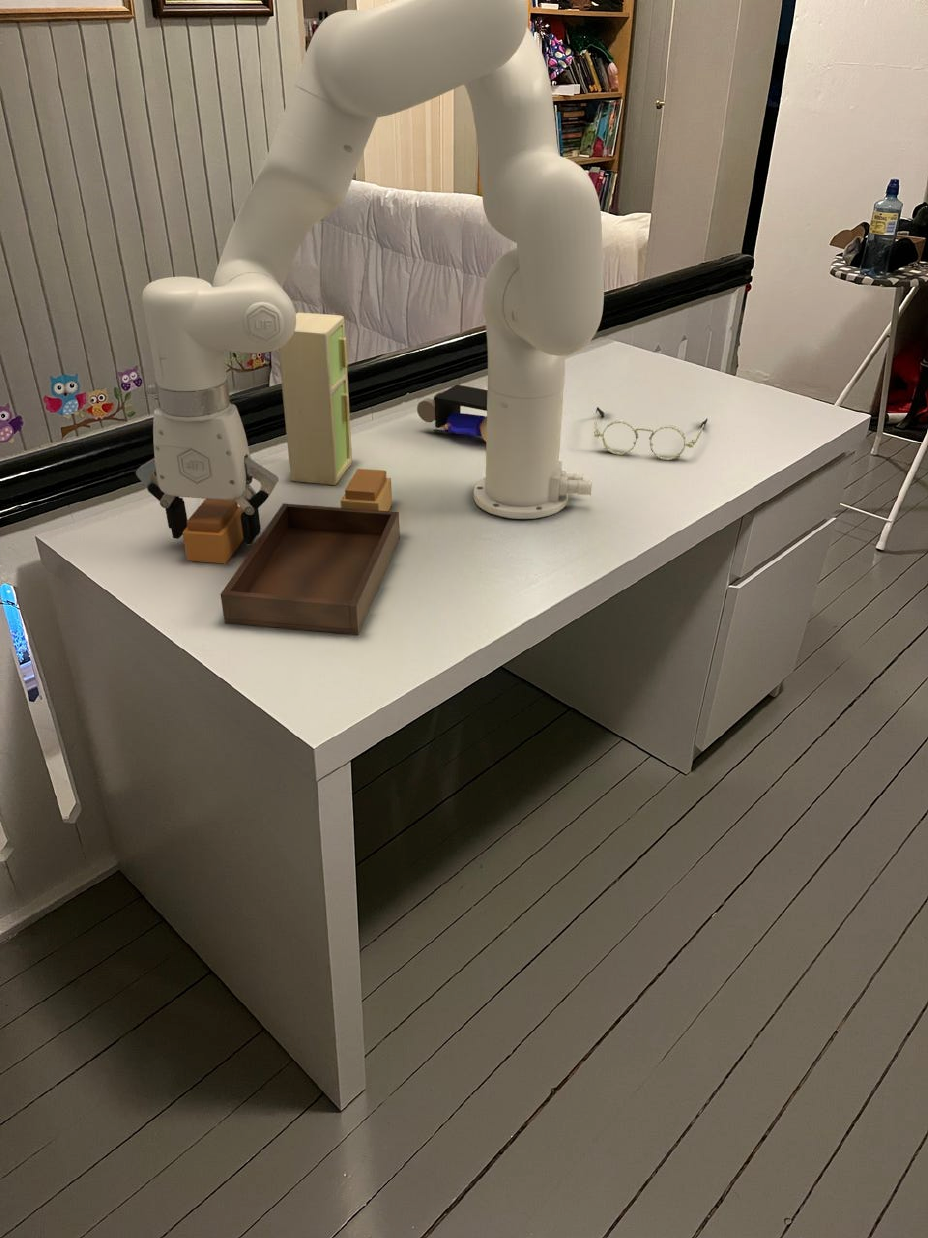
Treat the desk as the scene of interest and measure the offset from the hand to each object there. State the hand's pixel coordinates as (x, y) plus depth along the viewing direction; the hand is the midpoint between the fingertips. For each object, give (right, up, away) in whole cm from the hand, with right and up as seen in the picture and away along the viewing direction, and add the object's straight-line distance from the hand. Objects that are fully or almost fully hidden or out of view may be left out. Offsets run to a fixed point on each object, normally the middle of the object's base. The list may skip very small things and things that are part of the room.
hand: (216, 535), depth 113 cm
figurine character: (+30, +18, +30) cm, 46 cm away
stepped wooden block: (+17, +3, +8) cm, 19 cm away
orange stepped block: (0, -1, +1) cm, 2 cm away
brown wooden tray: (+13, -5, -5) cm, 15 cm away
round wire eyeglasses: (+58, +17, +30) cm, 67 cm away
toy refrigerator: (+10, +10, +19) cm, 24 cm away
